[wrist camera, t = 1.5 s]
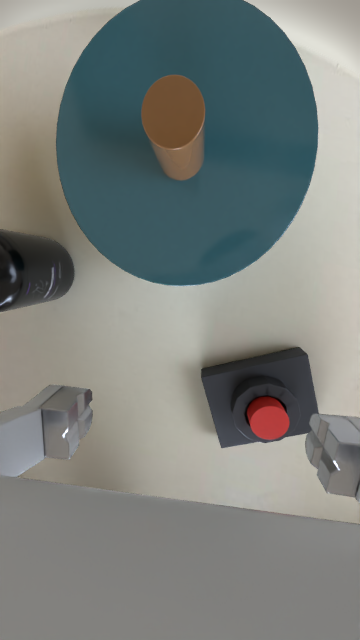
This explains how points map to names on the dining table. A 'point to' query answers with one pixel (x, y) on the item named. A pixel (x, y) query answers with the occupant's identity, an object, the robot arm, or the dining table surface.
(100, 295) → the dining table surface
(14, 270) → the supplement bottle
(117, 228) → the jar lid
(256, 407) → the release button
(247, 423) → the box
